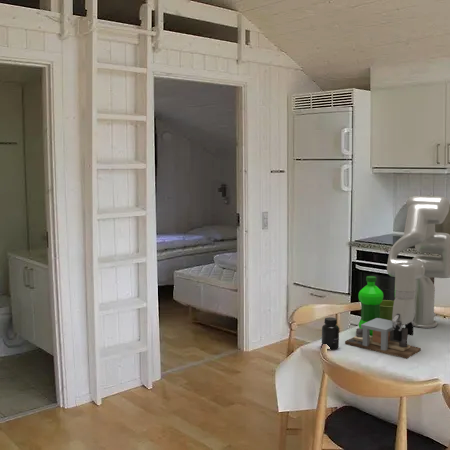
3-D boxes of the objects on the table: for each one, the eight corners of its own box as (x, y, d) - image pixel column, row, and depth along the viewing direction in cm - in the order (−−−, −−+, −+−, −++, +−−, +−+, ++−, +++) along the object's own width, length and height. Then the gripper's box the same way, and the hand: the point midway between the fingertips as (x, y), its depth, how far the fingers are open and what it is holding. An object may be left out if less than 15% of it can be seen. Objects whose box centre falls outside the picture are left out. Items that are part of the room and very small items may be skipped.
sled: (360, 336, 249) (360, 317, 248) (410, 347, 235) (410, 327, 234) (353, 339, 245) (353, 320, 244) (403, 351, 230) (403, 331, 229)
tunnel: (376, 337, 248) (376, 317, 247) (401, 343, 241) (401, 322, 240) (360, 345, 239) (361, 324, 238) (385, 351, 231) (386, 329, 230)
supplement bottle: (338, 351, 236) (339, 321, 234) (321, 350, 237) (321, 320, 236) (338, 345, 243) (339, 316, 241) (321, 344, 244) (322, 316, 242)
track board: (359, 337, 253) (359, 334, 253) (420, 350, 235) (420, 347, 235) (344, 343, 244) (345, 340, 244) (407, 358, 226) (407, 355, 226)
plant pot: (395, 323, 273) (396, 299, 271) (404, 331, 261) (404, 306, 259) (369, 324, 272) (370, 299, 271) (377, 331, 260) (377, 306, 259)
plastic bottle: (355, 335, 255) (356, 278, 252) (361, 329, 264) (362, 273, 261) (379, 338, 251) (381, 280, 248) (384, 331, 260) (385, 275, 257)
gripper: (405, 289, 240) (404, 331, 242) (385, 296, 227) (383, 340, 229) (423, 292, 235) (422, 334, 236) (403, 300, 222) (402, 344, 224)
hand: (403, 337), depth 233 cm, fingers open, 9 cm apart
